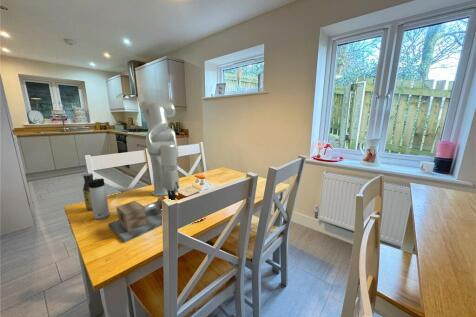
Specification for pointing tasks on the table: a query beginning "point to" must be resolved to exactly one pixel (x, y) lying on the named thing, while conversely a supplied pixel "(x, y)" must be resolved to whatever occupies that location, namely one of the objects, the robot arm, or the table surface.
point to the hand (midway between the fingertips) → (172, 200)
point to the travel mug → (98, 199)
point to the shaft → (154, 204)
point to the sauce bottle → (87, 191)
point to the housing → (135, 220)
